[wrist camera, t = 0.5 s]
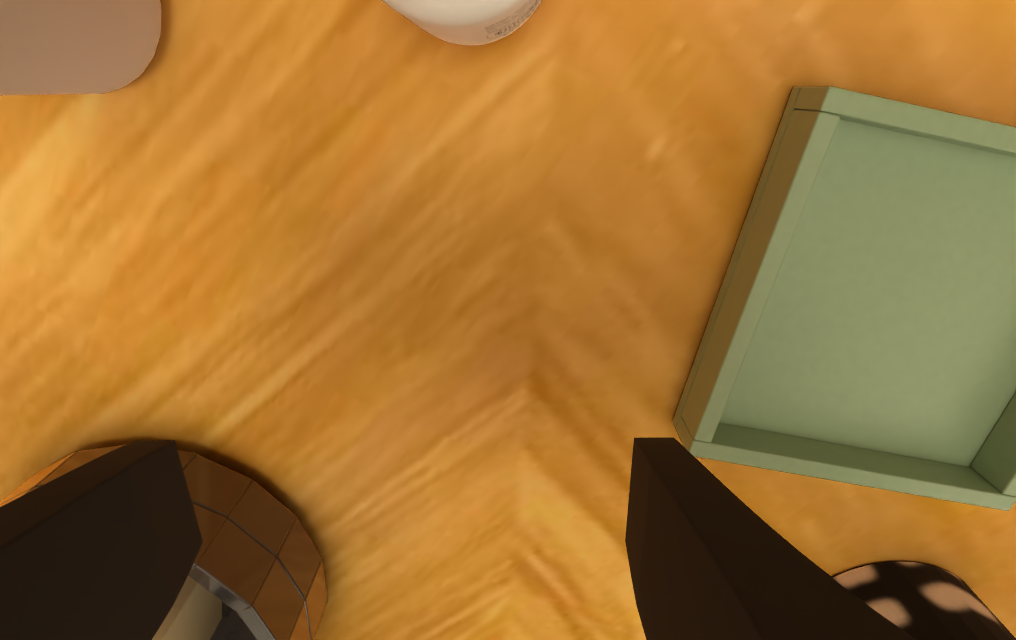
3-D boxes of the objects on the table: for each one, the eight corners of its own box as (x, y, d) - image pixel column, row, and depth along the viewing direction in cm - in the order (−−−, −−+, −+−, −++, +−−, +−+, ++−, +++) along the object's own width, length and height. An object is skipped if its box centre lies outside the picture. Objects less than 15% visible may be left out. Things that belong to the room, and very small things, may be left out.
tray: (964, 474, 21) (1009, 512, 19) (671, 421, 20) (687, 456, 18) (1156, 166, 16) (1237, 175, 15) (792, 85, 16) (829, 85, 14)
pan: (321, 685, 25) (284, 803, 21) (38, 646, 25) (-60, 759, 20) (344, 467, 21) (302, 561, 17) (-3, 409, 20) (-139, 494, 16)
